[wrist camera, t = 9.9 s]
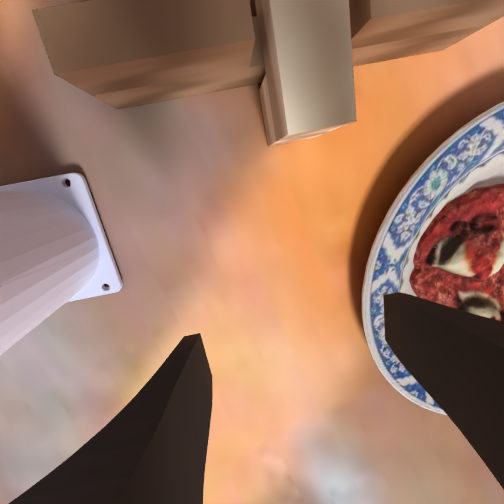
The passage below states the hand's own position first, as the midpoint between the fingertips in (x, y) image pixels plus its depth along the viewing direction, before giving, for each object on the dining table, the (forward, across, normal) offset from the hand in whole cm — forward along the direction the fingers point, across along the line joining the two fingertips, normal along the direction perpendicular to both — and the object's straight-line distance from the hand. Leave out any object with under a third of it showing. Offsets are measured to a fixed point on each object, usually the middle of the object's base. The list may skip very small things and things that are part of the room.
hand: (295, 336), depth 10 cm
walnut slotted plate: (+9, -3, -12) cm, 16 cm away
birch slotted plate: (+9, -3, -12) cm, 16 cm away
